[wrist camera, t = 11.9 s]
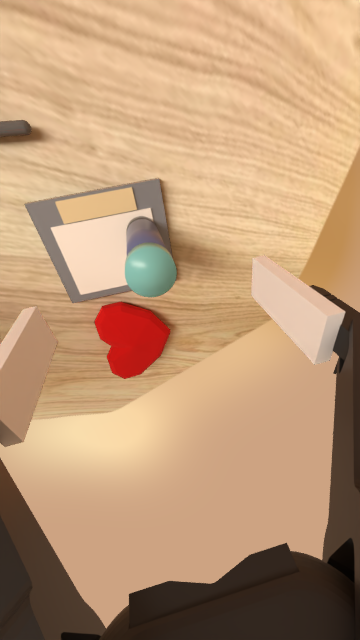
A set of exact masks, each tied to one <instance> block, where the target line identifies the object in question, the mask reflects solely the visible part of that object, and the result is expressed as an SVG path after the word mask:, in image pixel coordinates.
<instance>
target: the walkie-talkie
mask: <svg viewBox="0 0 360 640" xmlns="http://www.w3.org/2000/svg"><path fill="white" fill-rule="evenodd" d="M30 133H31V126H30V124H29V123H28V122H27V121H25V120H16V121H1V122H0V137H5V136H19V135H29V134H30Z"/></svg>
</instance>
